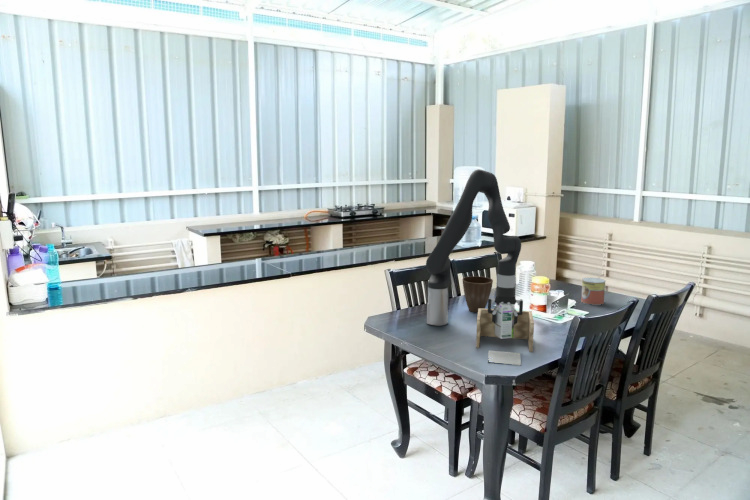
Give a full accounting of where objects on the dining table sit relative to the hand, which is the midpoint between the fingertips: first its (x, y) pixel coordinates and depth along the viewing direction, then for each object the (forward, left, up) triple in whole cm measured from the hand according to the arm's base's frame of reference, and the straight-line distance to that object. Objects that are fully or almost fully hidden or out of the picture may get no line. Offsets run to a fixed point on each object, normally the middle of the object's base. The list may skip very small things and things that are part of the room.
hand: (504, 323), depth 215 cm
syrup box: (0, 0, -6) cm, 6 cm away
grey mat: (0, -16, -9) cm, 18 cm away
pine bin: (0, +1, -9) cm, 9 cm away
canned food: (+46, +74, -9) cm, 88 cm away
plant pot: (-13, +46, -9) cm, 49 cm away
